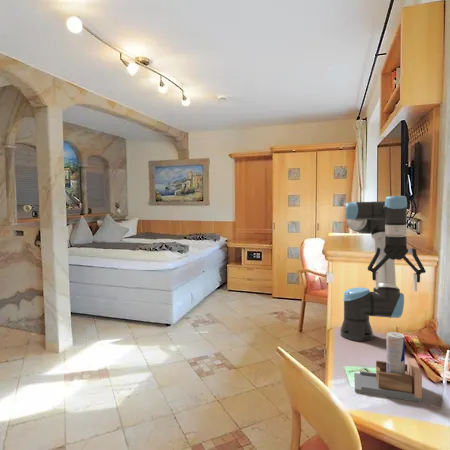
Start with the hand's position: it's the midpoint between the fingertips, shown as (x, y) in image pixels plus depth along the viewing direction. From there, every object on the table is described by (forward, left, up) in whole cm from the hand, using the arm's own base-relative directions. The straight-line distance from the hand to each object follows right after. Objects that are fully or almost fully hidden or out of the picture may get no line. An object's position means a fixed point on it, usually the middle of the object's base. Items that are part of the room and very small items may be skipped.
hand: (395, 289), depth 134 cm
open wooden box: (+20, -3, -29) cm, 35 cm away
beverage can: (+20, -2, -26) cm, 33 cm away
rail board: (+20, -6, -31) cm, 37 cm away
